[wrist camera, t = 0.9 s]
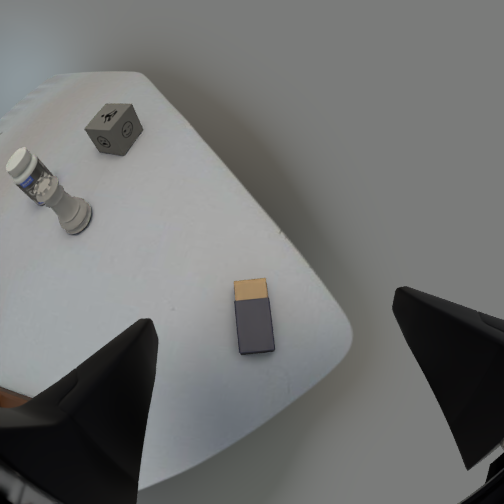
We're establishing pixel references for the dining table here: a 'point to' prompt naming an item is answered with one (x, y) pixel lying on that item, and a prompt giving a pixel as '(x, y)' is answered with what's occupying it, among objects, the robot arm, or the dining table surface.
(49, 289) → the dining table surface
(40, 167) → the pill bottle
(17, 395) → the tray
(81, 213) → the rook chess piece
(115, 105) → the dice cube
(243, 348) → the stacked boxes
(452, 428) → the robot arm
